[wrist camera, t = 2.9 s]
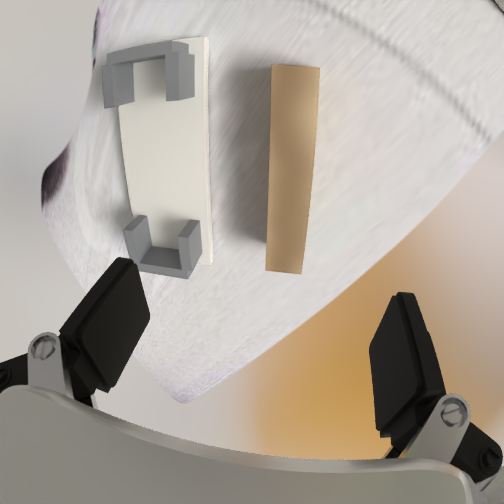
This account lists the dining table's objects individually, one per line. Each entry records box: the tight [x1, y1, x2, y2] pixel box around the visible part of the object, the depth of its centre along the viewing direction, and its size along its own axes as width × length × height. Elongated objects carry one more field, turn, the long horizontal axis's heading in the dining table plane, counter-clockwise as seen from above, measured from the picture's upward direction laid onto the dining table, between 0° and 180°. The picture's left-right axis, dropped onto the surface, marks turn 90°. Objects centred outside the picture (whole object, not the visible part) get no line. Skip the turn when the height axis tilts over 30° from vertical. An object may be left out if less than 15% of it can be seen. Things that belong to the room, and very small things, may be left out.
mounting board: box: [102, 37, 214, 279], centre depth 22 cm, size 8×21×4 cm, turn 178°
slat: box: [265, 65, 320, 274], centre depth 21 cm, size 3×16×4 cm, turn 0°
